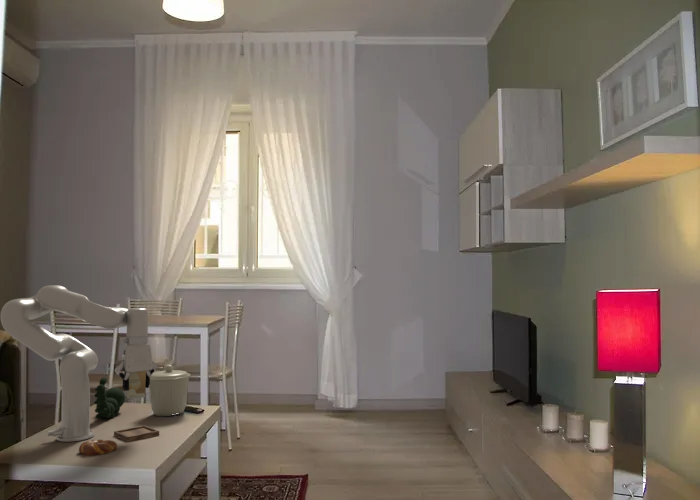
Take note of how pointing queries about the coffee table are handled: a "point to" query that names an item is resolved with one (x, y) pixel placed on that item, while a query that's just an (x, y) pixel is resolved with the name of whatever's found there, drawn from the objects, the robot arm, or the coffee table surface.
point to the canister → (168, 391)
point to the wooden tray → (136, 433)
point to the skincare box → (136, 385)
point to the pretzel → (97, 447)
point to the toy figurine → (108, 400)
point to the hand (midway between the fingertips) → (136, 388)
